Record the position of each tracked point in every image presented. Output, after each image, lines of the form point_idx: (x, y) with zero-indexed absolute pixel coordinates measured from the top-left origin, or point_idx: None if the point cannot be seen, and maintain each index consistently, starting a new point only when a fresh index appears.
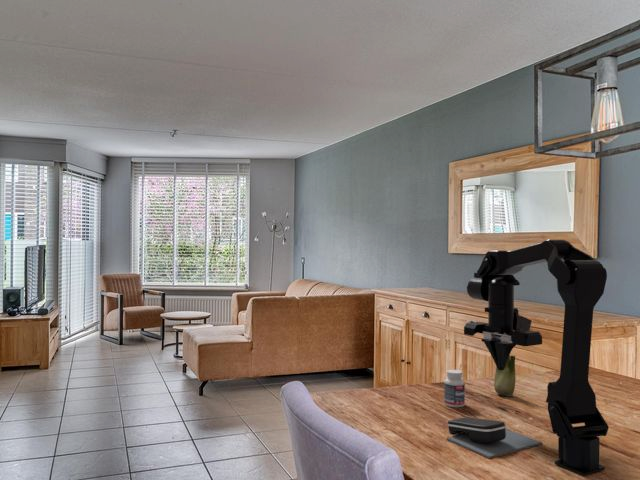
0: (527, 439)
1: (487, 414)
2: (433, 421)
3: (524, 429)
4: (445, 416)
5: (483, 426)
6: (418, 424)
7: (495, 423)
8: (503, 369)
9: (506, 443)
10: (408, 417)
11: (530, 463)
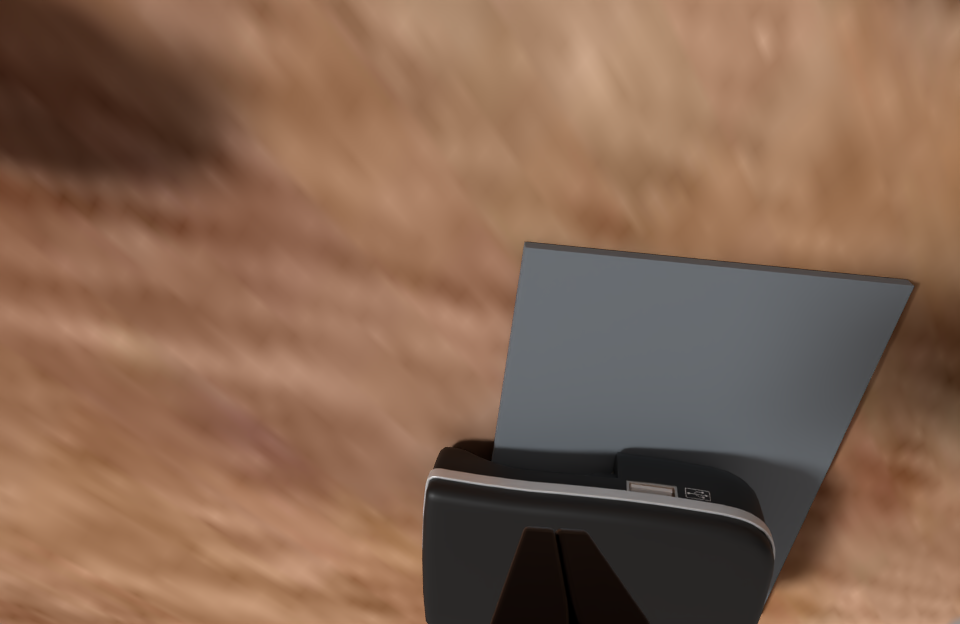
0: (815, 317)
1: (233, 19)
2: (191, 461)
3: (683, 110)
4: (131, 339)
5: None
6: (200, 548)
7: (735, 602)
8: (587, 542)
9: (742, 457)
10: (58, 514)
11: (935, 534)
